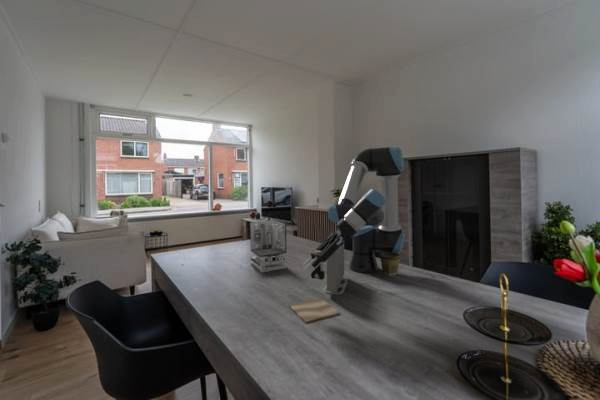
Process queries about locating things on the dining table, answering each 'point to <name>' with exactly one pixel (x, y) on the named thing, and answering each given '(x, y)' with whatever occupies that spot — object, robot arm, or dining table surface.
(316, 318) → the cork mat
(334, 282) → the network device
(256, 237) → the analytical balance
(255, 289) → the dining table surface
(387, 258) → the ceramic cup
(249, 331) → the dining table surface
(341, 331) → the dining table surface
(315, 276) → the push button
